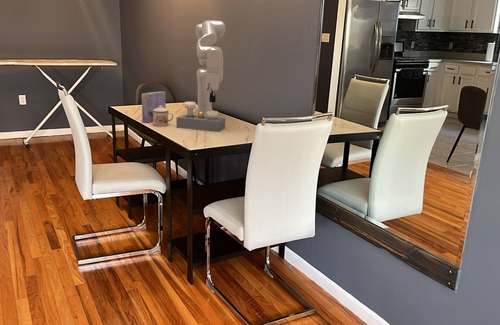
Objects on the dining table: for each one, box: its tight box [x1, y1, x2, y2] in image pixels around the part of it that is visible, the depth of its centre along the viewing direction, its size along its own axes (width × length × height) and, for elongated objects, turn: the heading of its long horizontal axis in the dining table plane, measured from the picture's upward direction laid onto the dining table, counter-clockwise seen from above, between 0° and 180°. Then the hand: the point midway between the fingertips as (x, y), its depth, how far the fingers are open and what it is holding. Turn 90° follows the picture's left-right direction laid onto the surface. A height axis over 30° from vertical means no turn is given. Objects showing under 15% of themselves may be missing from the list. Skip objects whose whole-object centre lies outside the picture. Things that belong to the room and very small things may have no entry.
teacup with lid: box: [153, 105, 174, 127], centre depth 274 cm, size 12×9×12 cm
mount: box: [176, 113, 226, 133], centre depth 271 cm, size 12×26×6 cm, turn 73°
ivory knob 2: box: [207, 110, 219, 120], centre depth 268 cm, size 6×6×9 cm
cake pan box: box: [141, 91, 167, 124], centre depth 285 cm, size 19×5×18 cm, turn 152°
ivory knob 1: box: [184, 101, 197, 118], centre depth 271 cm, size 6×6×9 cm
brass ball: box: [197, 111, 204, 118], centre depth 270 cm, size 4×4×4 cm
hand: (212, 102), depth 266 cm, fingers closed
